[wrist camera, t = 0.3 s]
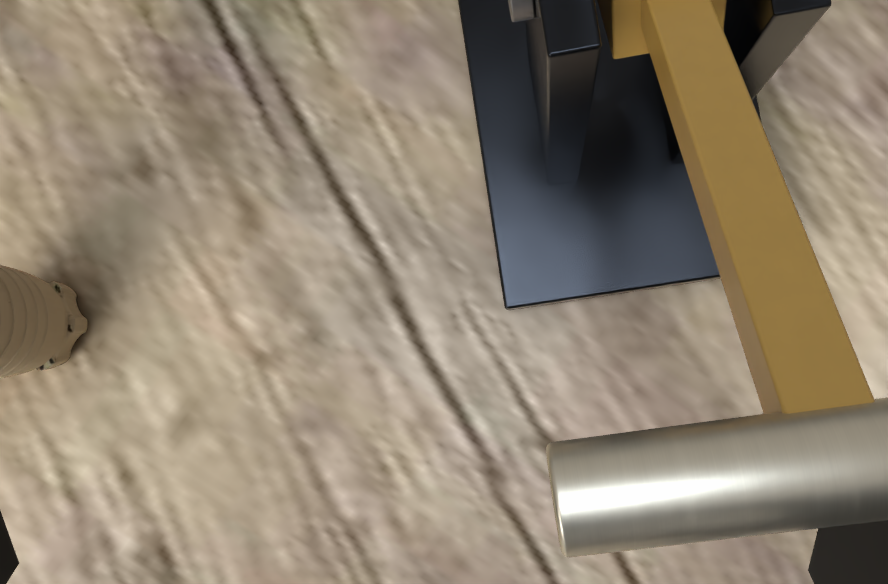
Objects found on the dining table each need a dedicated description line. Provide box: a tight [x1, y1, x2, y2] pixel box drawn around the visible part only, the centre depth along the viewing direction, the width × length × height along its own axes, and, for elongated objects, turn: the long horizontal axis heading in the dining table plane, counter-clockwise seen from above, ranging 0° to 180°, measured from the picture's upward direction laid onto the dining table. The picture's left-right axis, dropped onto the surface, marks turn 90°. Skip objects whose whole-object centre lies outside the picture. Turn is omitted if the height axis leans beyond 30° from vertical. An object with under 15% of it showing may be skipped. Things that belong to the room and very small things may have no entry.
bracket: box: [458, 0, 831, 310], centre depth 22 cm, size 12×9×14 cm
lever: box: [546, 0, 888, 557], centre depth 14 cm, size 13×7×2 cm
